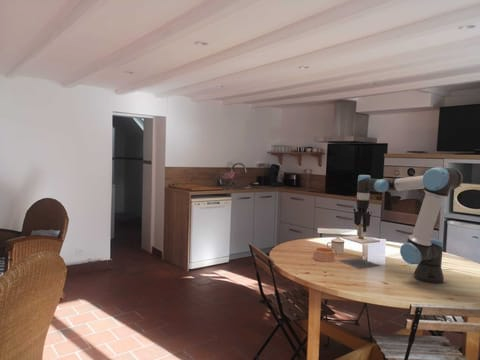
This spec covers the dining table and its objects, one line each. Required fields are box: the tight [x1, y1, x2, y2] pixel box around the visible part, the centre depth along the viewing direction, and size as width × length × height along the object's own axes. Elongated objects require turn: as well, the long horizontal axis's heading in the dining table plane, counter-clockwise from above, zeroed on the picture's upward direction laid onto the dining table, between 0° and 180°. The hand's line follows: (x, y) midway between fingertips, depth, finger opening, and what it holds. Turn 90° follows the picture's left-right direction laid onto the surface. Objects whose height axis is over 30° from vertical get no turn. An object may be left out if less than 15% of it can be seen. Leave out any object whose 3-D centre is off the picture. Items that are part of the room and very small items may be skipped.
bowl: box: [313, 247, 336, 263], centre depth 238 cm, size 13×13×6 cm
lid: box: [341, 223, 381, 245], centre depth 231 cm, size 16×16×10 cm
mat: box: [337, 257, 382, 270], centre depth 232 cm, size 19×19×1 cm
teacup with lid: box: [326, 236, 345, 255], centre depth 258 cm, size 12×9×12 cm
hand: (361, 236), depth 231 cm, fingers closed on lid, 3 cm apart
